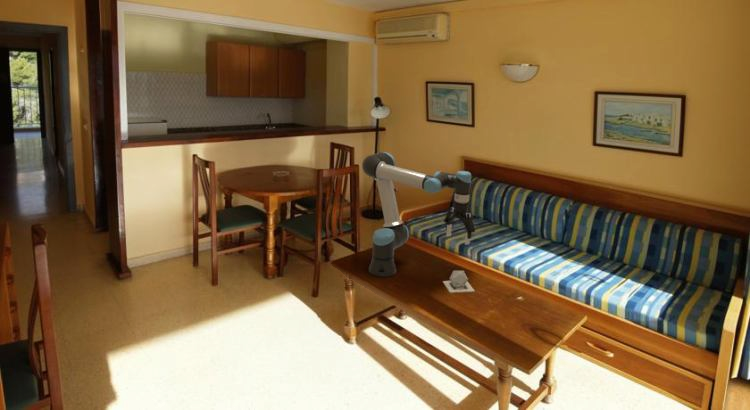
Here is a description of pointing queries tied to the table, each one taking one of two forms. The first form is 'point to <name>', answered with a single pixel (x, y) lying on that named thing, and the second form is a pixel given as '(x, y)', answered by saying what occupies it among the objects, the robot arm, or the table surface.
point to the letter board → (458, 289)
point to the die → (458, 278)
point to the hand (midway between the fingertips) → (457, 240)
